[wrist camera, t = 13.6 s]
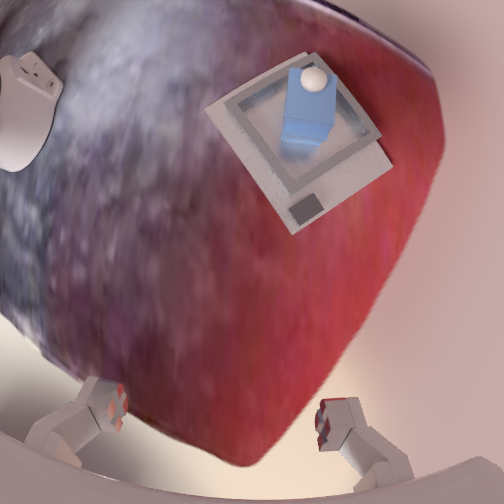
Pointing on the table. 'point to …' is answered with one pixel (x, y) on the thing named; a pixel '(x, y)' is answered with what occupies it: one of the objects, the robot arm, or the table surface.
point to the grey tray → (299, 145)
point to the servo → (309, 106)
